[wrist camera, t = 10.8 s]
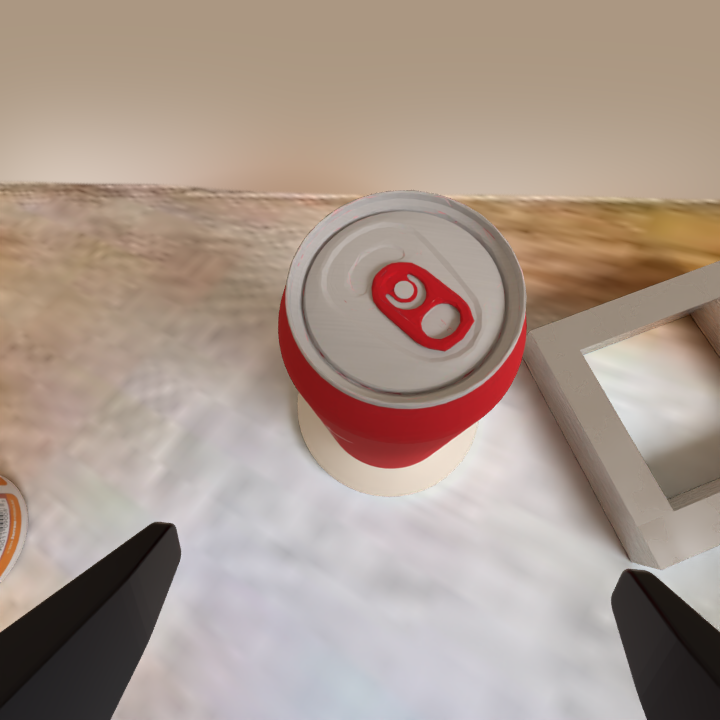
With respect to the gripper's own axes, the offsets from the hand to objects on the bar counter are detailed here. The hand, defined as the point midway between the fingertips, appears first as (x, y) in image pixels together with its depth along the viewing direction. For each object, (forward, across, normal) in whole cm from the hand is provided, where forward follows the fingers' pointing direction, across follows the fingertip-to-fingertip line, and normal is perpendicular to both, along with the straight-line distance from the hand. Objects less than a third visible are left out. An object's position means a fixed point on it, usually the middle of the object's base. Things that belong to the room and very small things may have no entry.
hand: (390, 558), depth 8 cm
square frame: (+13, -14, +3) cm, 19 cm away
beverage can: (+12, 0, +4) cm, 12 cm away
